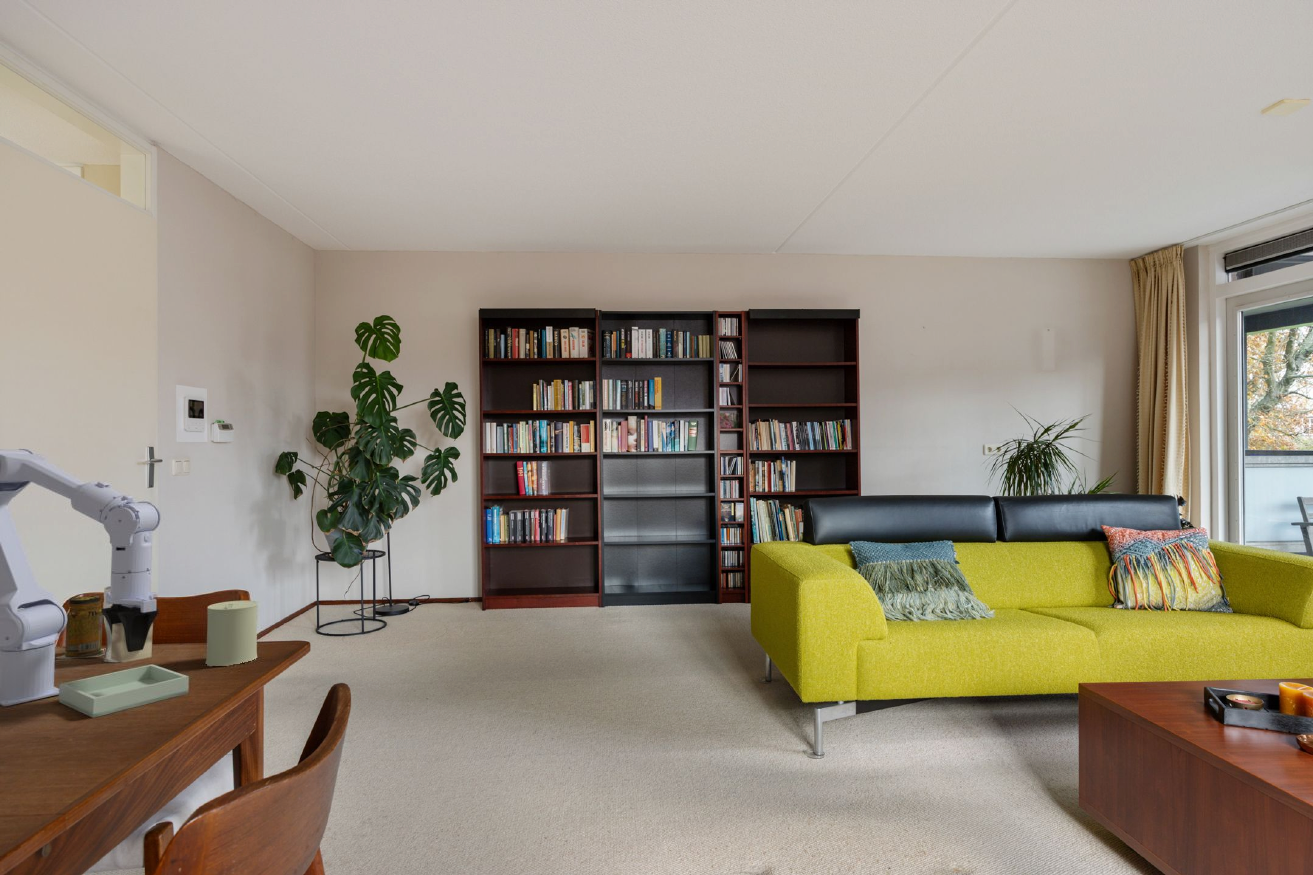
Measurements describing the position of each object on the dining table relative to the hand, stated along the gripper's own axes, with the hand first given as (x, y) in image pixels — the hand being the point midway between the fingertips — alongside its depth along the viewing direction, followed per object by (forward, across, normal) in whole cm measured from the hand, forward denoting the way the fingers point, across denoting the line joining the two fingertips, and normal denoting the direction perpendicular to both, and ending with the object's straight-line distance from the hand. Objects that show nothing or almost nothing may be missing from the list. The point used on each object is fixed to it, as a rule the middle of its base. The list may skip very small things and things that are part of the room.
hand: (129, 648), depth 123 cm
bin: (+8, 0, 0) cm, 8 cm away
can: (+9, +8, -22) cm, 24 cm away
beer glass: (+9, +28, -10) cm, 31 cm away
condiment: (+9, +39, -8) cm, 41 cm away
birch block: (+2, 0, 0) cm, 2 cm away
